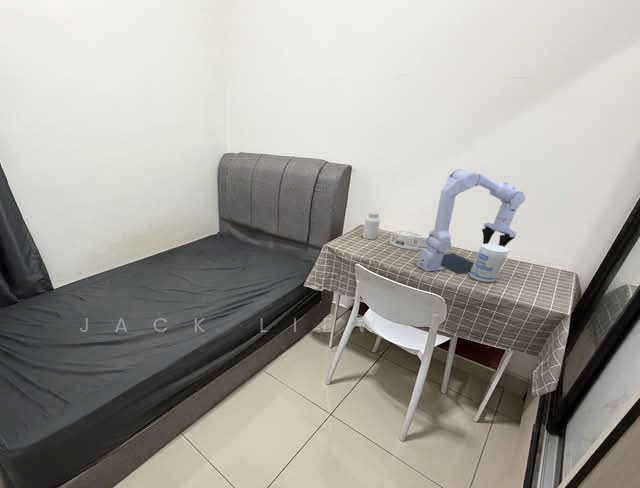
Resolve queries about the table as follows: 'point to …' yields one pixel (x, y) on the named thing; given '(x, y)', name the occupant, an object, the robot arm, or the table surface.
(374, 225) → the pill bottle
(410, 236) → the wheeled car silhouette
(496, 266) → the supplement tub
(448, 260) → the desk mat
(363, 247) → the table surface
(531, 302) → the table surface
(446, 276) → the table surface
